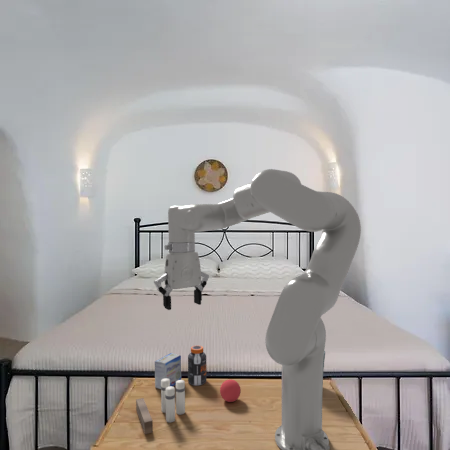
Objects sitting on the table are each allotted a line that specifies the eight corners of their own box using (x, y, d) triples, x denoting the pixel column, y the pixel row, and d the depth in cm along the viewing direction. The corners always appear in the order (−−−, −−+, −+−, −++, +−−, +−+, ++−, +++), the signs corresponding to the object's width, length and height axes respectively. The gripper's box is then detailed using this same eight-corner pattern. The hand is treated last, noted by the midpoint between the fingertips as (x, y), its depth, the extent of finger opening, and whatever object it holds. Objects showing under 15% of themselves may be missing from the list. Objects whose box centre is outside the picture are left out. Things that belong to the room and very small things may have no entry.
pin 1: (171, 411, 103) (171, 381, 102) (162, 413, 102) (162, 383, 101) (169, 407, 105) (168, 377, 105) (160, 409, 104) (159, 379, 104)
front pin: (186, 413, 102) (185, 383, 101) (177, 415, 101) (177, 384, 100) (183, 408, 104) (183, 379, 104) (174, 410, 103) (174, 380, 103)
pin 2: (176, 421, 98) (176, 389, 98) (167, 423, 97) (166, 391, 97) (173, 416, 101) (173, 385, 100) (164, 418, 100) (164, 387, 99)
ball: (244, 403, 107) (244, 382, 107) (224, 407, 105) (224, 387, 104) (235, 393, 112) (235, 374, 112) (216, 397, 110) (216, 378, 110)
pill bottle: (203, 386, 117) (203, 351, 116) (185, 385, 118) (185, 350, 117) (208, 378, 123) (208, 344, 122) (191, 376, 124) (190, 343, 123)
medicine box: (165, 391, 114) (165, 363, 114) (154, 387, 116) (154, 360, 116) (181, 381, 121) (181, 354, 120) (171, 377, 123) (170, 352, 123)
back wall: (152, 432, 94) (152, 420, 93) (144, 434, 93) (144, 422, 93) (143, 408, 105) (143, 397, 104) (136, 409, 104) (136, 399, 104)
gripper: (159, 251, 100) (160, 314, 101) (214, 247, 110) (215, 304, 111) (148, 249, 107) (150, 308, 107) (201, 245, 116) (202, 299, 117)
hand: (183, 306), depth 109 cm, fingers open, 9 cm apart
